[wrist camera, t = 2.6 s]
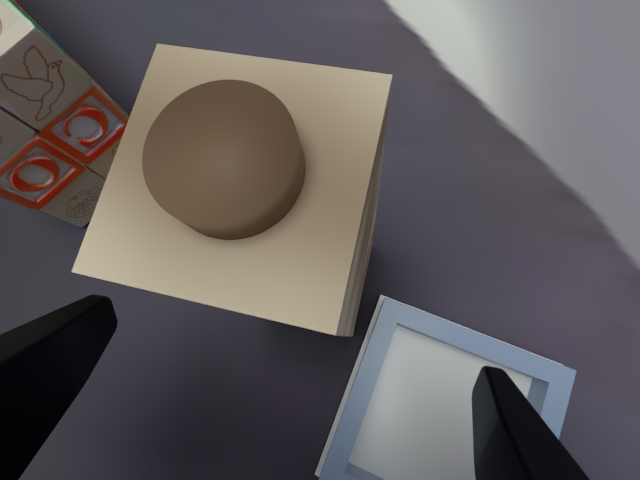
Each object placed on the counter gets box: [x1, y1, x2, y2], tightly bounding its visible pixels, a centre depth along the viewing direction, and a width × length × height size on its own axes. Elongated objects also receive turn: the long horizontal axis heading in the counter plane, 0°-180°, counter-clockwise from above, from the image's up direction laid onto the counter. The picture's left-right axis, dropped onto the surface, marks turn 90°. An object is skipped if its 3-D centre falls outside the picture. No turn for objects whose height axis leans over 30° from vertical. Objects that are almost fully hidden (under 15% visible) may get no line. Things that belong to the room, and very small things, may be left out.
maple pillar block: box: [72, 44, 392, 337], centre depth 12 cm, size 4×4×14 cm
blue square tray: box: [315, 295, 576, 480], centre depth 16 cm, size 8×8×2 cm
